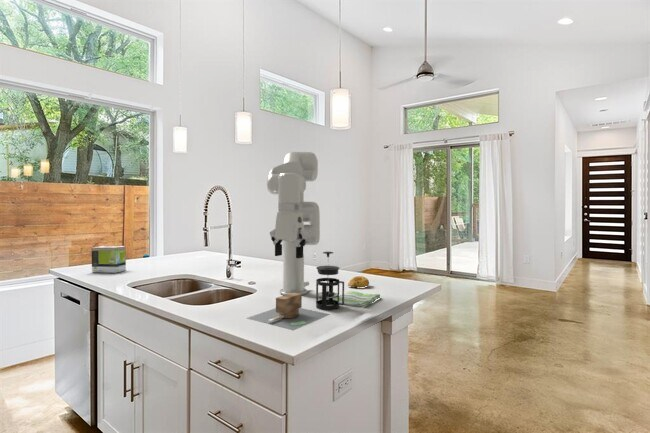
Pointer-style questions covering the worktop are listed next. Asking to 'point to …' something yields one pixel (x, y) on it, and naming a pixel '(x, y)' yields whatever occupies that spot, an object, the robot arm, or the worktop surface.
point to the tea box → (108, 259)
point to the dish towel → (357, 299)
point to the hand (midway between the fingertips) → (288, 256)
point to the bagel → (358, 282)
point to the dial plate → (289, 323)
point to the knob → (288, 306)
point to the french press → (325, 294)
